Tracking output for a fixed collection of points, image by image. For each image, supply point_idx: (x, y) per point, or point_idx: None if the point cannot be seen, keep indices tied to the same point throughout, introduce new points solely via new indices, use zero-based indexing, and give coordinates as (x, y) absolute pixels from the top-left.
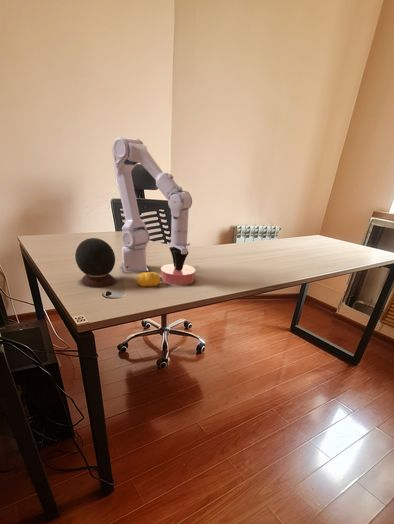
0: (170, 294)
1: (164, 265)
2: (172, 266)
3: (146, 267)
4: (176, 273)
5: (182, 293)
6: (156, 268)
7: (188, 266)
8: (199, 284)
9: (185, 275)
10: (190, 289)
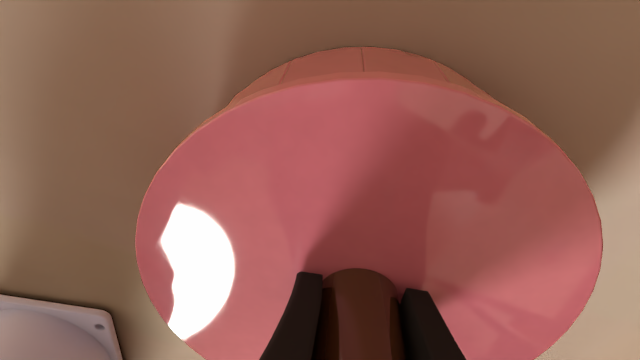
0: (581, 341)
1: (197, 351)
2: (244, 308)
3: (28, 308)
4: (487, 357)
5: (631, 282)
6: (7, 238)
7: (286, 136)
8: (572, 43)
9: (580, 300)
10: (615, 198)
